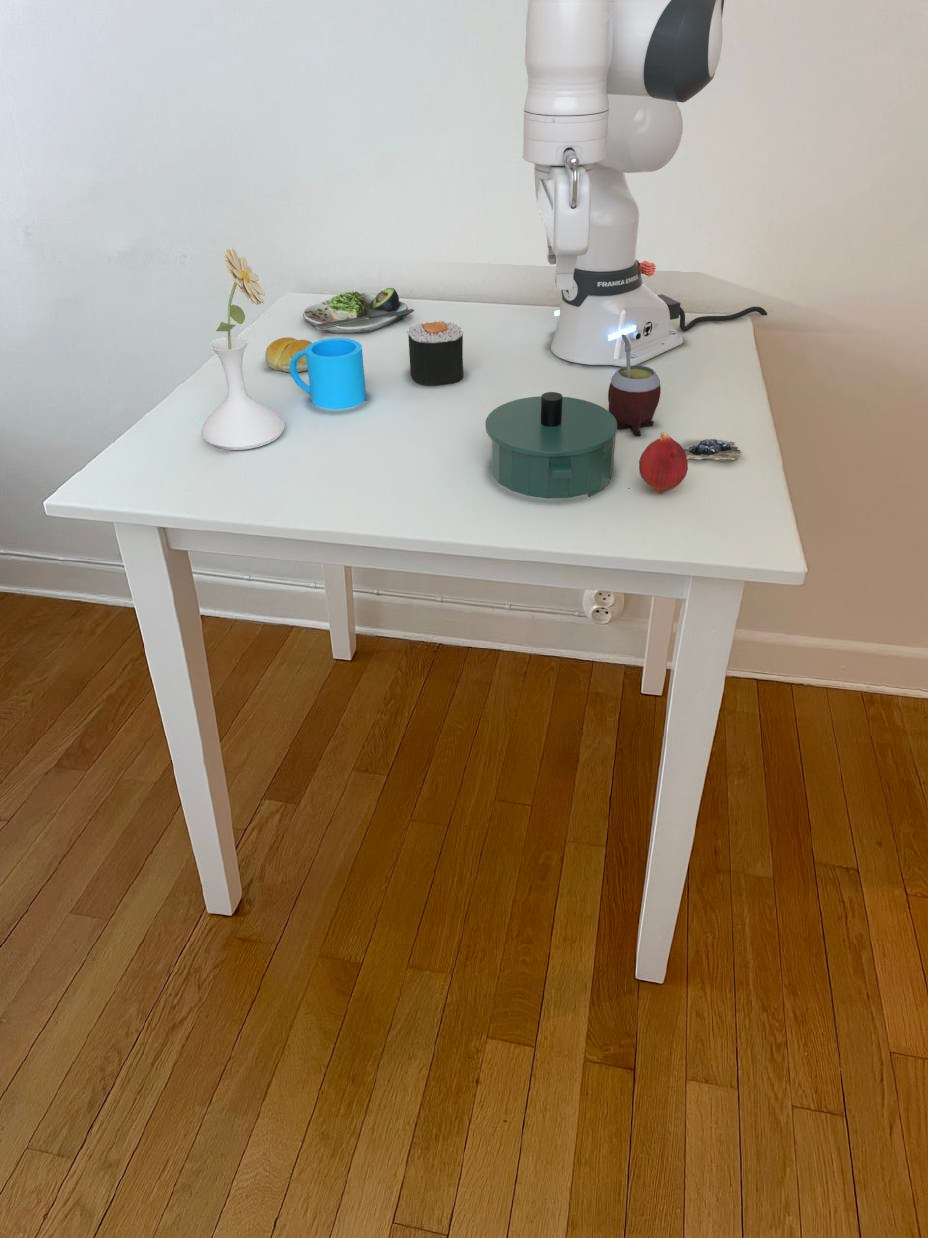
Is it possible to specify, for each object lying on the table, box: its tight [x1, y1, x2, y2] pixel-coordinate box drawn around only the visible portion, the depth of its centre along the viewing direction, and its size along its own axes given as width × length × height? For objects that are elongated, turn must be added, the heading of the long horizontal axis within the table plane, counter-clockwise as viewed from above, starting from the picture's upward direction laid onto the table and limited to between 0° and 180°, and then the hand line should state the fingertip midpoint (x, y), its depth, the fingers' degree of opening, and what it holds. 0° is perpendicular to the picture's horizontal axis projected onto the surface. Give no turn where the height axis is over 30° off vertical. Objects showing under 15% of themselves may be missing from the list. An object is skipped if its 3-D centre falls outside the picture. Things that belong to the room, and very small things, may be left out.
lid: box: [484, 391, 618, 457], centre depth 118 cm, size 16×16×5 cm
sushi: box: [406, 320, 464, 387], centre depth 147 cm, size 8×8×8 cm
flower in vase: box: [200, 246, 286, 451], centre depth 126 cm, size 13×11×25 cm
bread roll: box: [264, 336, 313, 373], centre depth 153 cm, size 8×9×4 cm
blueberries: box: [682, 438, 742, 463], centre depth 125 cm, size 7×8×2 cm
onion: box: [638, 431, 689, 494], centre depth 116 cm, size 6×6×8 cm
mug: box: [289, 337, 367, 410], centre depth 140 cm, size 12×8×8 cm
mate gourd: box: [607, 334, 662, 437], centre depth 128 cm, size 8×8×15 cm
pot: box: [491, 434, 617, 499], centre depth 121 cm, size 15×21×6 cm
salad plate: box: [302, 287, 415, 334], centre depth 169 cm, size 19×18×5 cm
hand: (559, 274), depth 108 cm, fingers open, 8 cm apart
